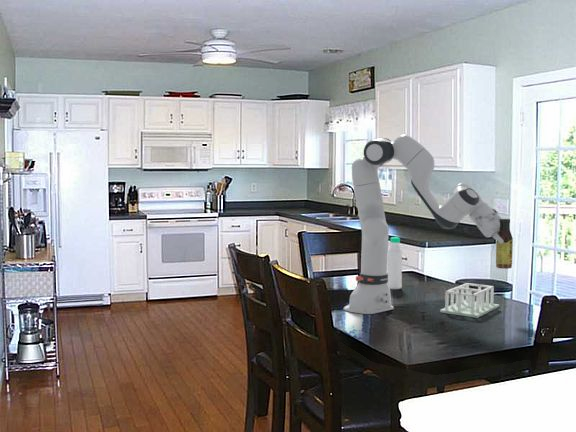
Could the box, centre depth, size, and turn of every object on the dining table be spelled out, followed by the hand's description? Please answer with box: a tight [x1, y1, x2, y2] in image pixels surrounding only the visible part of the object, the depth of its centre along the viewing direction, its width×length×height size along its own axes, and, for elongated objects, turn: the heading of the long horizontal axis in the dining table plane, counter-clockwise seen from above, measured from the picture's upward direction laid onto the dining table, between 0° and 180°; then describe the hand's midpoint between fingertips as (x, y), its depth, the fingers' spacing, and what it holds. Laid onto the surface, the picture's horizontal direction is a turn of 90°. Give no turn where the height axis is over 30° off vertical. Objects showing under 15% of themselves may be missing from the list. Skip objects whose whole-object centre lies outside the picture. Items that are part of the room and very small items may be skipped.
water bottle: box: [387, 236, 403, 290], centre depth 317 cm, size 7×7×25 cm
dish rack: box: [439, 282, 500, 319], centre depth 272 cm, size 25×16×9 cm, turn 143°
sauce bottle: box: [495, 218, 514, 269], centre depth 260 cm, size 6×6×20 cm
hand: (506, 241), depth 260 cm, fingers closed on sauce bottle, 6 cm apart
